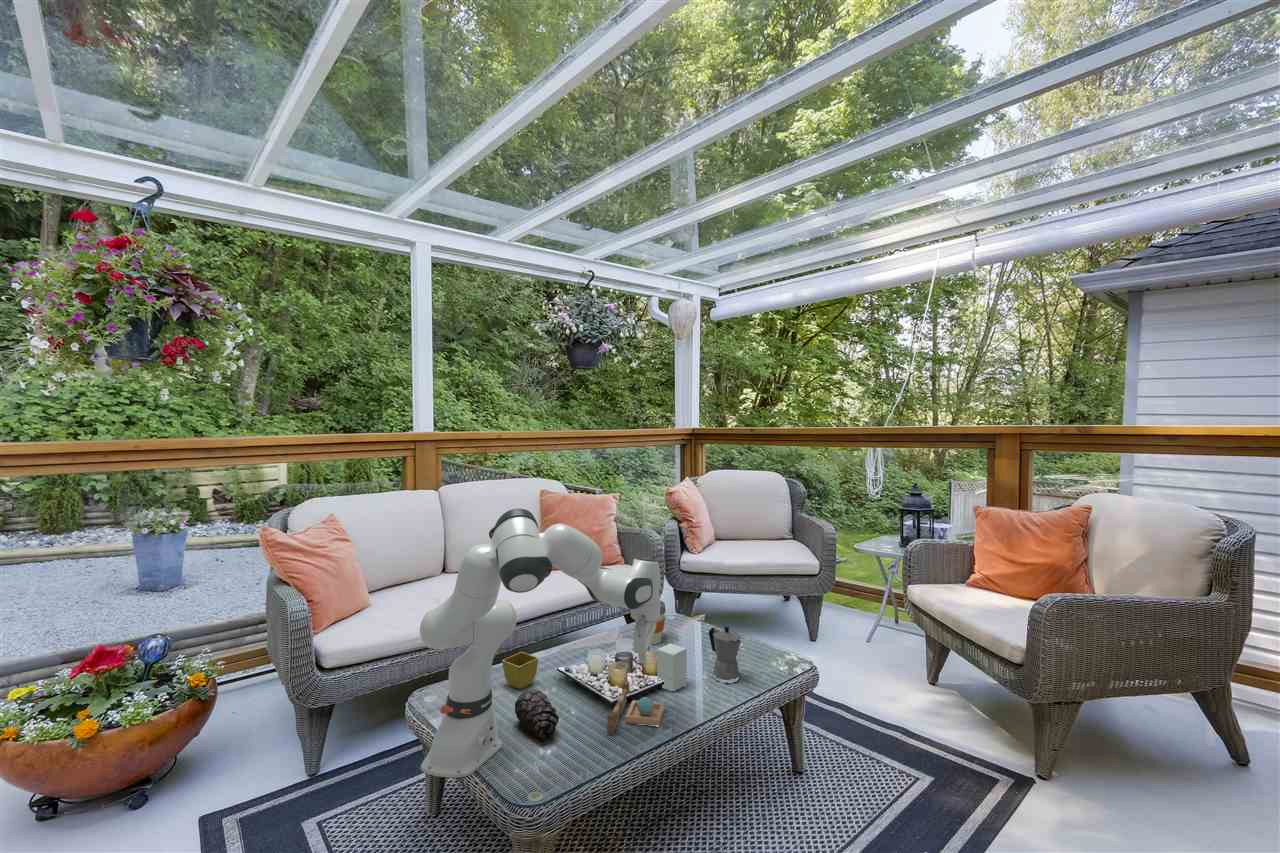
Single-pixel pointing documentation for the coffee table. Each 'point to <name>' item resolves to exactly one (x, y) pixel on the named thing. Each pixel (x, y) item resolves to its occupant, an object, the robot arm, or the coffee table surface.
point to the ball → (645, 706)
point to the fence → (617, 710)
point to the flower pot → (520, 669)
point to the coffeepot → (725, 653)
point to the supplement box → (672, 666)
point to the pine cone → (536, 716)
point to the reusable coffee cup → (659, 625)
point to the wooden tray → (638, 718)
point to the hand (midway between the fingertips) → (645, 655)
